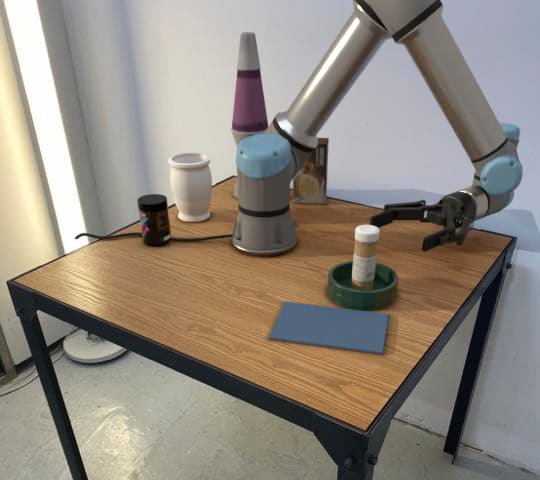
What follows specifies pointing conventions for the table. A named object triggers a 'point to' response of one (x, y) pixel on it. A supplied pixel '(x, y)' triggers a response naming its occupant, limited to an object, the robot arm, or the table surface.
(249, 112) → the lamp
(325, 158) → the coffee box
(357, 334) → the mat
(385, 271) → the bowl
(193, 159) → the jar
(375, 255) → the sprinkles bottle
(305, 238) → the table surface
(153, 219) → the supplement container
